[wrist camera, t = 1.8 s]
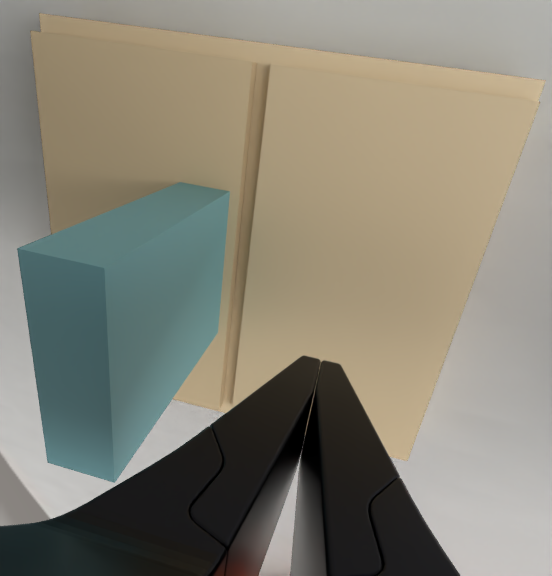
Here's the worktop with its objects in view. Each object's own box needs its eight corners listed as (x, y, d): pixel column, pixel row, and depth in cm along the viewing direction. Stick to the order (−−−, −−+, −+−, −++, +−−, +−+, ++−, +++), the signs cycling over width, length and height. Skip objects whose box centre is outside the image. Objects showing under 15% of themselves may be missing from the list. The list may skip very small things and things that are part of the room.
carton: (525, 82, 12) (553, 79, 10) (403, 431, 17) (406, 471, 15) (71, 21, 14) (23, 9, 12) (93, 351, 19) (62, 378, 17)
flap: (257, 62, 12) (113, 17, 5) (222, 402, 17) (130, 584, 10) (42, 33, 12) (-296, -37, 6) (73, 363, 18) (-95, 508, 11)
